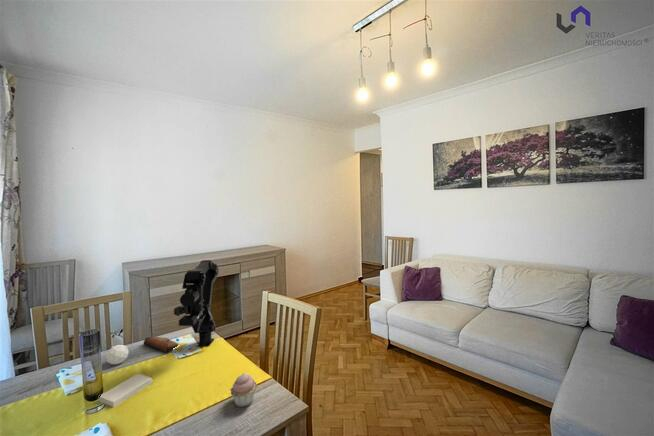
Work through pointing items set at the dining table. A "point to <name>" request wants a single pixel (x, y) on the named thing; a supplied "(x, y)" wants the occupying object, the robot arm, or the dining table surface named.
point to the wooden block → (125, 390)
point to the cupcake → (243, 390)
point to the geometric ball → (117, 354)
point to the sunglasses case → (160, 343)
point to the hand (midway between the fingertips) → (196, 332)
